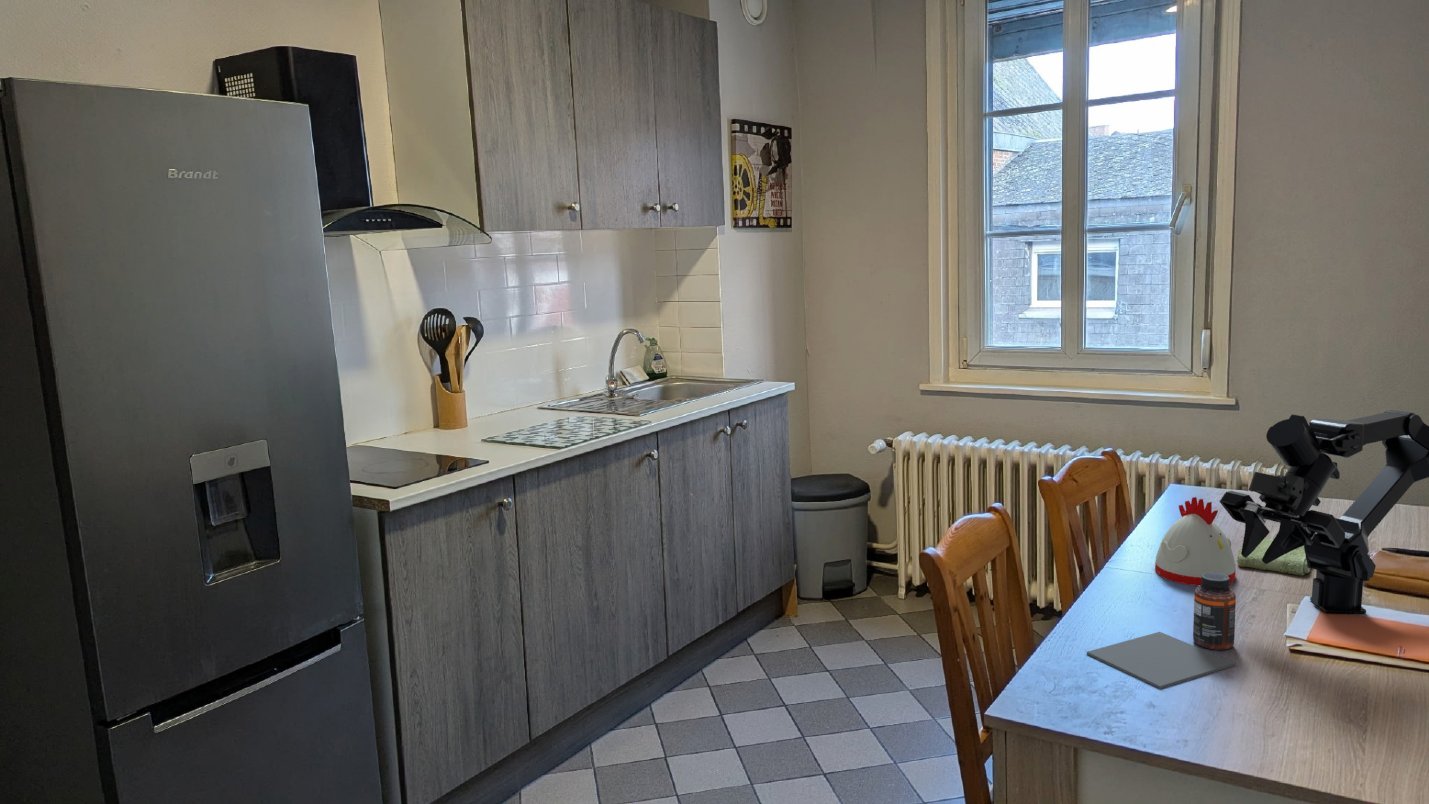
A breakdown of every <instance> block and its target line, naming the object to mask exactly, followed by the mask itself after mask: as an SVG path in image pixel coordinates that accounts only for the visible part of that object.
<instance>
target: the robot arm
mask: <svg viewBox="0 0 1429 804" xmlns="http://www.w3.org/2000/svg"><path fill="white" fill-rule="evenodd" d="M1265 437H1266V441H1267V442H1268V443H1269V444H1270V446H1271V448H1272V449H1273V450H1274V452H1275V453H1276V454H1277V456H1278V458H1279V459H1280V460H1281V462H1282V463H1283V464H1284V465H1286V466H1288V467H1289V468H1288V469H1287V471H1286V472H1285V474H1284V475H1280V474H1278V475H1274V474H1269V473H1263V472H1258V471H1254V472H1253V476H1252V479H1251V482H1250V484H1249V486H1248V491H1250V492H1254V493H1257V494H1259V497H1258V498H1259V500H1260V501H1261V503H1264V504H1265V505H1264V506H1263V505H1261V504H1259V503H1257V502H1255V501H1254V499H1253V498H1252V496H1251V495H1249V494H1246V493H1243V492H1238V491H1235V490H1229V491H1226V492H1225V493H1224V494H1223V495H1222V496H1221V499H1219V504H1221V506H1222V507H1223V508H1224V509H1225V511H1226V512H1227V513H1228V515H1230V517H1231V519H1233V520H1235V521H1236V522H1237V523H1238V522H1239V523H1243V524H1244V525H1245V526H1244V534H1243V540H1242V545H1241V547H1242V551H1241V555H1242V556H1243V557H1244V558H1246V557H1248V556H1249V555H1250V554H1251V553H1252V552H1253V551H1254V550H1255V549H1256V547H1257V546H1258V545H1259V544H1260V543H1261V542H1262V541H1263V539H1264V538H1267V537H1268V535H1269V534H1270V533H1271V531H1270V530H1269V529H1268V527H1267V525H1266V523H1267V521H1272V522H1276V523H1278V524H1279V529H1278V531H1277V533H1276V535H1275V537H1274V538H1273V539H1274V540H1273V541H1272V543H1271V544H1270V546H1269V547H1268V549H1267V550H1266V552H1265V554H1264V556H1263V558H1262V561H1263V563H1264V564H1268V563H1270V562H1272V561H1273V560H1275V559H1277V558H1279V557H1281V556H1283V555H1284V554H1286V553H1288V552H1290V551H1292V550H1295V549H1297V548H1299V547H1302V546H1304V550H1305V555H1306V560H1307V565H1308V568H1310V570H1311V569H1312V570H1316V572H1315V577H1314V578H1312V584H1311V585H1312V589H1311V596H1310V597H1309V600H1310V601H1311V602H1312V603H1313V604H1314V605H1316V606H1317V607H1318V606H1319V607H1318V608H1320V609H1321V610H1322V609H1323V610H1324V611H1323V610H1322V611H1323V612H1325V611H1326V612H1325V613H1327V612H1346V613H1345V614H1348V613H1347V612H1357V613H1356V614H1366V613H1367V609H1365V608H1364V607H1363V606H1362V603H1363V593H1364V591H1363V590H1364V582H1369V581H1371V580H1370V579H1371V578H1373V577H1374V575H1375V570H1376V564H1375V563H1374V561H1373V559H1372V558H1371V557H1370V555H1369V552H1370V548H1369V547H1370V546H1369V536H1370V535H1371V534H1372V533H1373V531H1374V530H1375V529H1376V528H1377V527H1378V525H1379V524H1380V523H1381V522H1382V520H1384V518H1386V516H1387V515H1388V514H1389V512H1391V510H1392V509H1393V508H1394V507H1395V505H1396V504H1397V503H1398V502H1399V501H1400V499H1401V498H1402V497H1403V496H1404V495H1405V493H1406V492H1407V491H1408V490H1409V489H1410V488H1411V486H1412V485H1413V484H1414V483H1416V482H1417V483H1418V482H1419V481H1422V480H1425V479H1428V478H1429V425H1428V424H1426V423H1425V422H1424V420H1423V419H1422V418H1421V416H1419V414H1416V413H1415V412H1408V411H1402V410H1401V411H1400V410H1394V409H1390V410H1386V411H1383V412H1382V413H1377V414H1371V415H1367V416H1362V417H1359V418H1353V419H1349V420H1342V419H1332V418H1319V417H1318V418H1314V419H1312V420H1311V421H1309V422H1308V421H1307V418H1306V417H1305V416H1304V415H1301V414H1294V413H1292V414H1291V415H1290V416H1289V418H1288V419H1283V420H1280V421H1277V423H1274V425H1272V426H1270V427H1269V428H1268V430H1267V432H1266V434H1265ZM1378 442H1381V444H1382V445H1383V446H1384V449H1385V453H1384V454H1385V460H1386V461H1385V463H1386V464H1385V465H1384V467H1383V468H1382V469H1380V472H1378V473H1377V475H1376V476H1375V477H1374V478H1373V479H1372V481H1371V482H1370V483H1369V484H1368V485H1367V486H1366V487H1365V488H1364V490H1363V491H1362V492H1361V493H1360V494H1359V496H1358V497H1357V498H1356V499H1355V500H1354V501H1353V503H1352V504H1351V505H1350V506H1349V507H1348V508H1347V509H1346V511H1345V512H1344V513H1343V514H1342V515H1341V516H1340V517H1335V516H1334V515H1333V514H1330V513H1327V512H1322V511H1317V510H1313V509H1311V508H1312V506H1314V507H1319V505H1320V504H1321V502H1322V501H1321V500H1320V498H1319V497H1318V496H1320V494H1321V492H1322V490H1323V489H1324V488H1325V486H1326V485H1327V483H1328V481H1329V479H1333V480H1340V476H1341V475H1340V474H1341V473H1340V471H1339V469H1338V463H1337V462H1335V461H1333V460H1332V459H1331V457H1330V456H1333V457H1334V456H1335V457H1339V458H1348V459H1349V458H1350V457H1353V456H1355V455H1357V454H1358V453H1361V452H1362V451H1363V448H1364V446H1366V445H1369V444H1373V443H1378Z"/></svg>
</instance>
